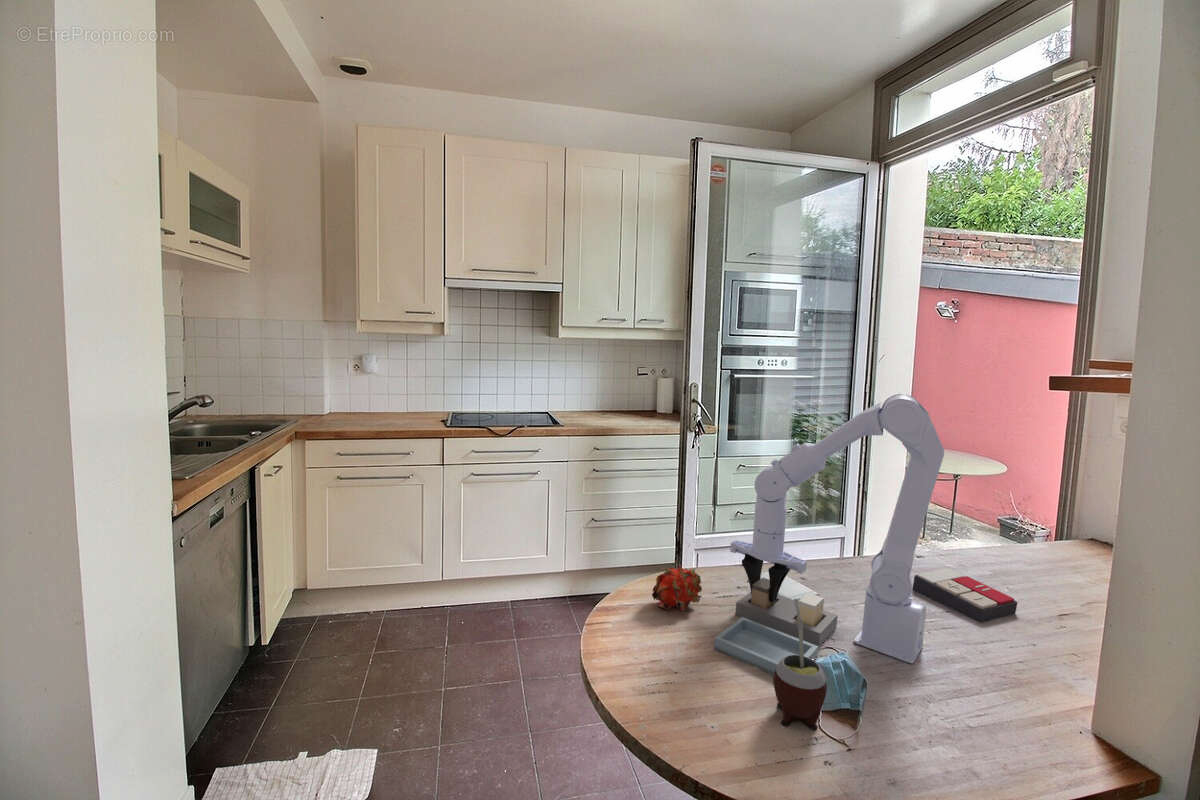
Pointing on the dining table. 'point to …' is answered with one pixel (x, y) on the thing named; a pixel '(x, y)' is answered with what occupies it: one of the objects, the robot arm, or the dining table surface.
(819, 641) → the block
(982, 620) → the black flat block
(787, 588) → the hard drive
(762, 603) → the block
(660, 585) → the dragon fruit
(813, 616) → the block
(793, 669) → the mate gourd
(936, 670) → the dining table surface
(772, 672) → the parts tray
